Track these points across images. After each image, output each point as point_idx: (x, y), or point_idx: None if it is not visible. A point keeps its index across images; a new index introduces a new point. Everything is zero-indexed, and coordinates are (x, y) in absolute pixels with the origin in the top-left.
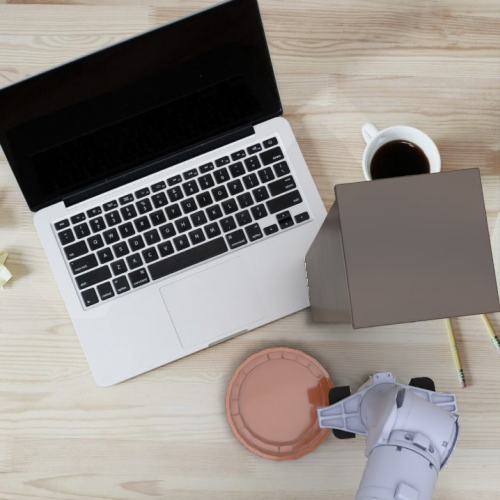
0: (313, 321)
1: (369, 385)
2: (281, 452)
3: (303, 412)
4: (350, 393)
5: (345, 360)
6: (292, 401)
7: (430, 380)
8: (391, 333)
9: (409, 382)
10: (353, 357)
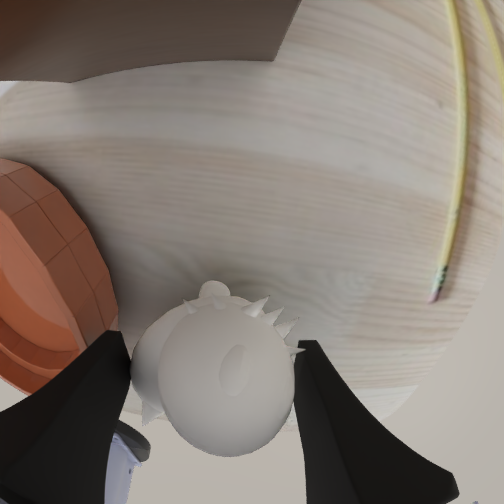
0: (25, 79)
1: (161, 381)
2: (36, 372)
3: (60, 311)
4: (22, 495)
5: (148, 199)
6: (35, 287)
7: (451, 500)
8: (313, 133)
9: (351, 482)
10: (173, 193)
